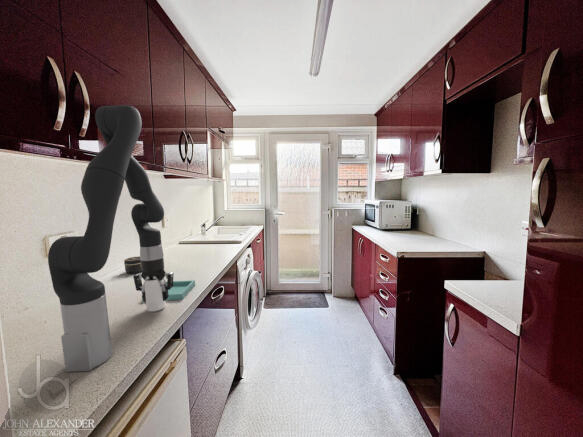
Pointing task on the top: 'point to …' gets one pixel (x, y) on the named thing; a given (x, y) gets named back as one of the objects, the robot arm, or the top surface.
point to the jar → (133, 265)
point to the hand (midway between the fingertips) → (156, 300)
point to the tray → (179, 289)
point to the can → (154, 296)
